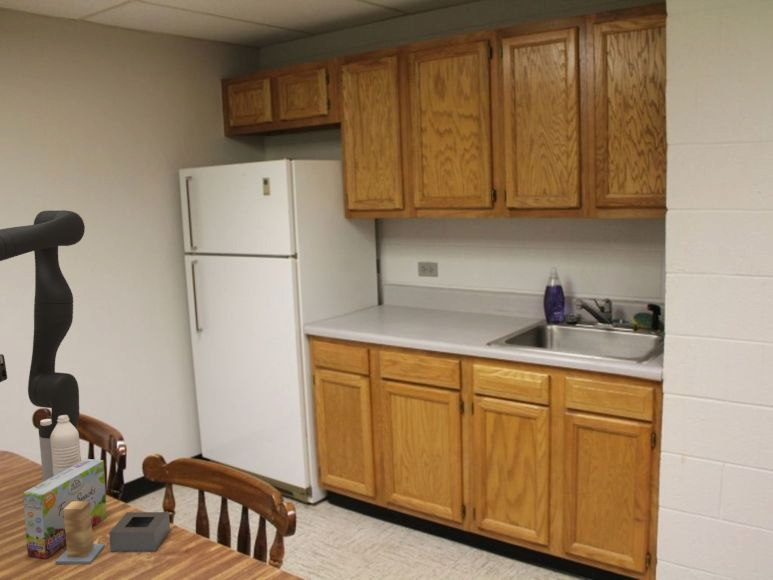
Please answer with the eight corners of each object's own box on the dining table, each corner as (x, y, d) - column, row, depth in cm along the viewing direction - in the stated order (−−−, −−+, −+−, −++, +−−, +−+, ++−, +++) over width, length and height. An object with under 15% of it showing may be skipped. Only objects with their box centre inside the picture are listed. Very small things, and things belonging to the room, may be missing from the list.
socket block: (128, 530, 169) (126, 512, 168) (170, 530, 168) (168, 512, 168) (110, 551, 159) (109, 532, 158) (155, 551, 158) (154, 532, 158)
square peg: (67, 557, 155) (63, 509, 154) (75, 548, 159) (72, 501, 158) (85, 557, 155) (81, 509, 154) (93, 548, 159) (89, 501, 158)
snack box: (48, 560, 156) (42, 494, 154) (26, 557, 157) (20, 492, 155) (108, 517, 176) (104, 458, 174) (89, 515, 177) (84, 456, 175)
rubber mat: (72, 546, 161) (71, 544, 161) (104, 546, 161) (104, 544, 161) (56, 563, 154) (55, 561, 154) (90, 563, 154) (90, 561, 153)
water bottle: (76, 504, 183) (68, 410, 180) (90, 511, 179) (82, 414, 176) (42, 516, 177) (34, 419, 173) (56, 523, 173) (47, 424, 169)
